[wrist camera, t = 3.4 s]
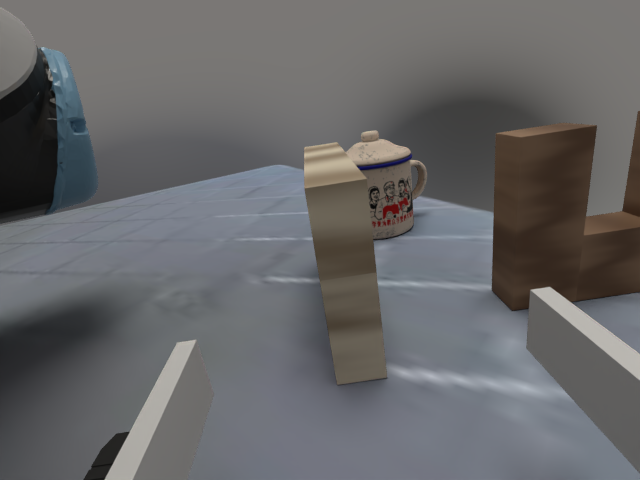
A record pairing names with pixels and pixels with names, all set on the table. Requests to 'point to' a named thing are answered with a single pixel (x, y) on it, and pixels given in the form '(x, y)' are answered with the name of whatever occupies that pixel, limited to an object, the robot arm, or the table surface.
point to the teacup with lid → (388, 183)
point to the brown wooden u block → (560, 218)
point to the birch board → (345, 262)
